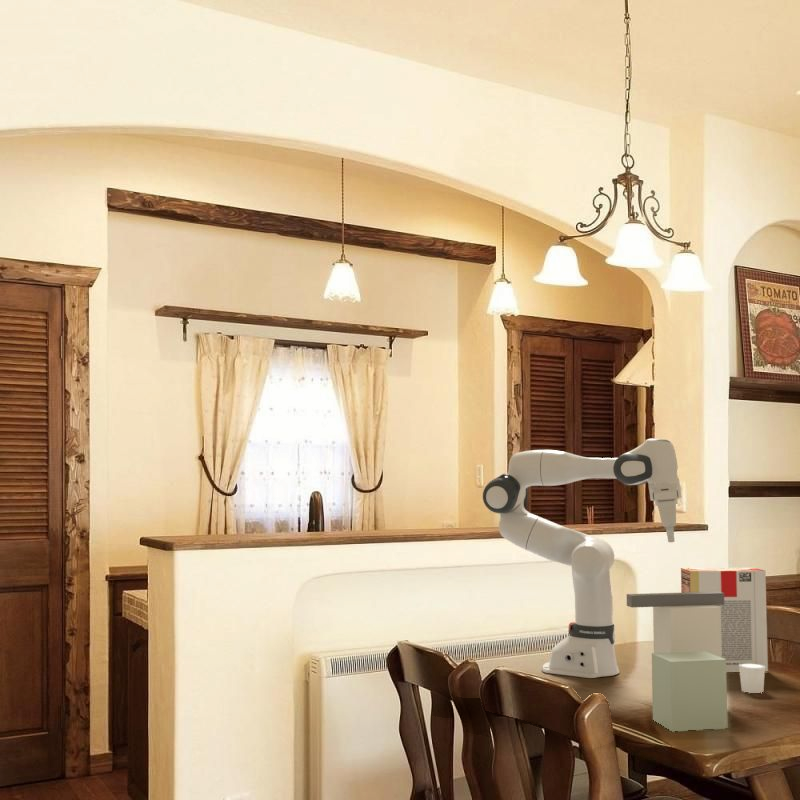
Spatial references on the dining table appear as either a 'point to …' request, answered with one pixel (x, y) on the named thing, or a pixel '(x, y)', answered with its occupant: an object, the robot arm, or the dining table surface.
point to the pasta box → (736, 610)
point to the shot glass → (752, 677)
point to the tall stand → (687, 629)
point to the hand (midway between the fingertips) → (671, 541)
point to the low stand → (689, 690)
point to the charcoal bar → (675, 599)
